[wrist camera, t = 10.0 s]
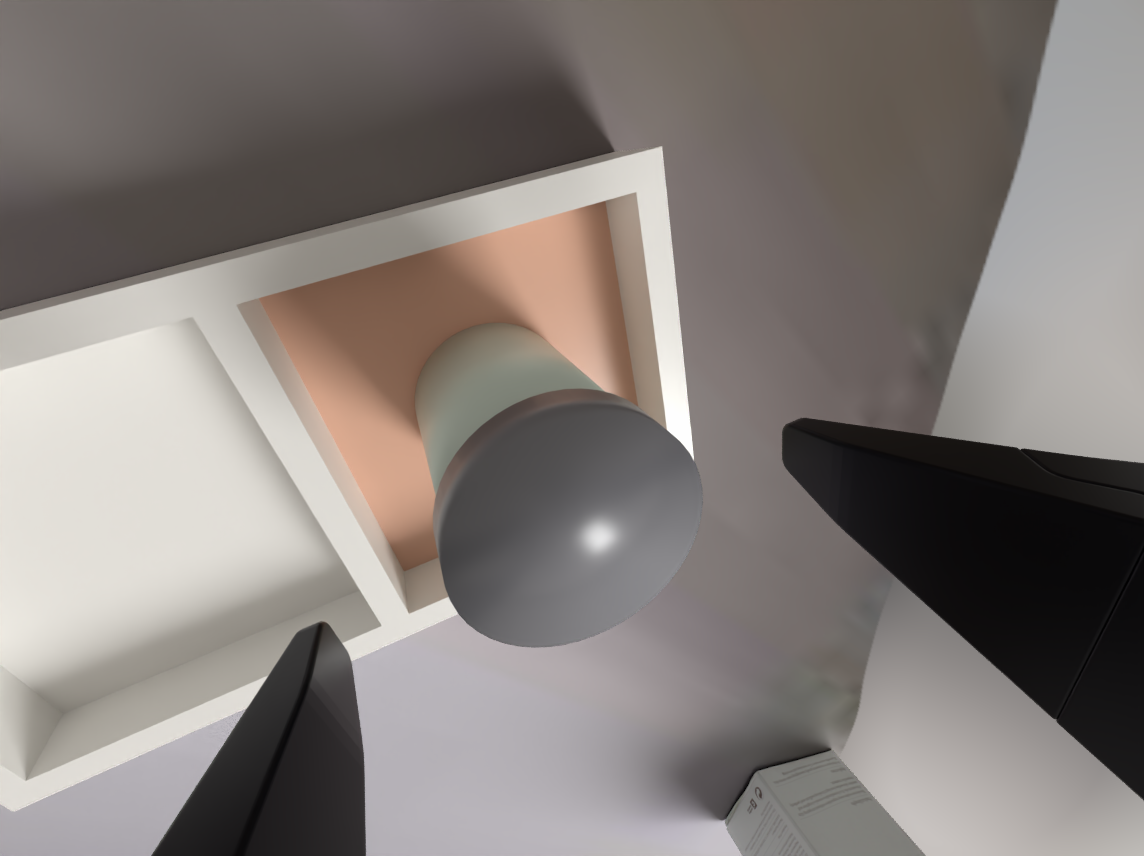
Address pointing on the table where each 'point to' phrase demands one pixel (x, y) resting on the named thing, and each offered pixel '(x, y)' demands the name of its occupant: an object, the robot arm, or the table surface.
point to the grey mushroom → (547, 490)
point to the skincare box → (814, 814)
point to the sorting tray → (278, 446)
